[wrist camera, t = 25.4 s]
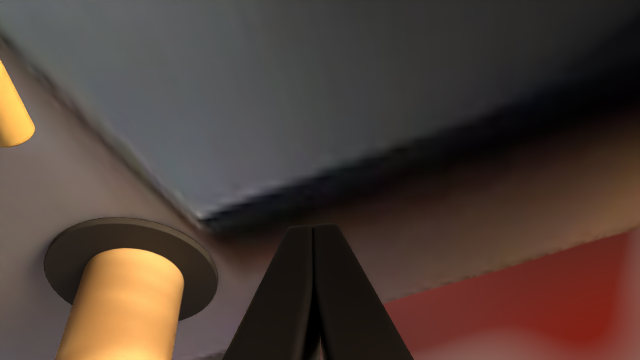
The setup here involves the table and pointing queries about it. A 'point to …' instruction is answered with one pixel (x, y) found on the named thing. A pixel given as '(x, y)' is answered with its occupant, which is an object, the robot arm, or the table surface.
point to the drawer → (12, 114)
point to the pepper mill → (124, 308)
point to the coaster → (116, 233)
